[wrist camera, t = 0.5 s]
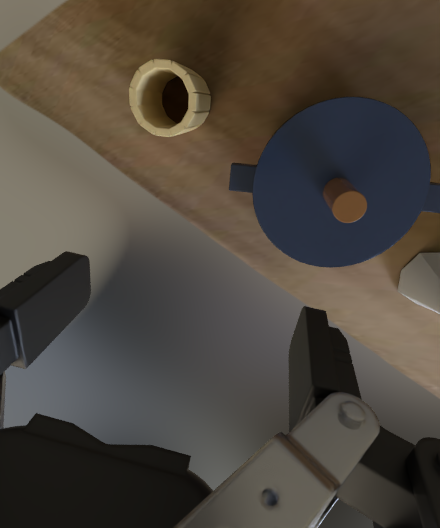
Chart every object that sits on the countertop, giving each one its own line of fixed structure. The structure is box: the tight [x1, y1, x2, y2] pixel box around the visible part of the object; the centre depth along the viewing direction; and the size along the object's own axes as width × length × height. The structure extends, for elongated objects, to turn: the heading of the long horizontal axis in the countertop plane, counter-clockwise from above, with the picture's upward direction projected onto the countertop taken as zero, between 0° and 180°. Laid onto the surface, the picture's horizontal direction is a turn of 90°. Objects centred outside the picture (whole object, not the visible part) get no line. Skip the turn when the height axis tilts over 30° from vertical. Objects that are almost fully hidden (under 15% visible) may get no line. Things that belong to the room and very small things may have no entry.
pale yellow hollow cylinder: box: [129, 59, 211, 137], centre depth 32 cm, size 6×6×8 cm
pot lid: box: [253, 97, 431, 267], centre depth 27 cm, size 15×15×6 cm
